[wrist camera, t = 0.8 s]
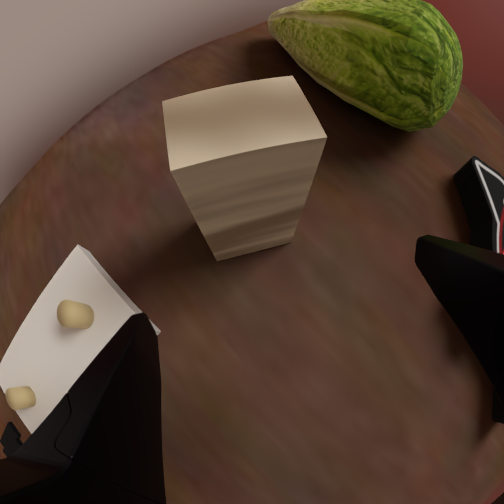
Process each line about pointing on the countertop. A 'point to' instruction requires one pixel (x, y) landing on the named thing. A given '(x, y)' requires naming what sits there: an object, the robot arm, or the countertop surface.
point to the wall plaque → (484, 219)
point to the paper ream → (244, 161)
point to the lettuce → (376, 55)
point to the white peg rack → (62, 336)
